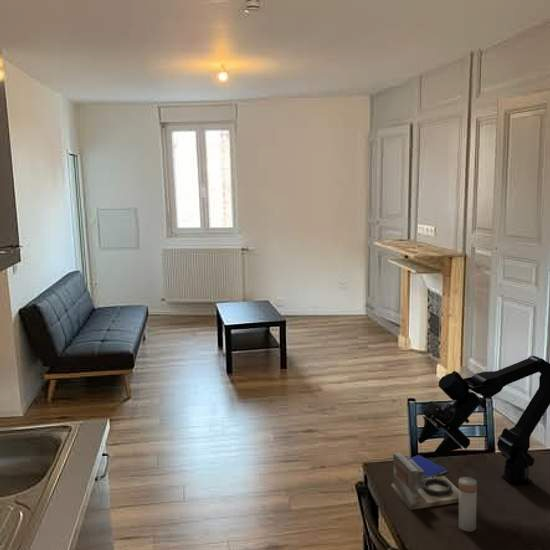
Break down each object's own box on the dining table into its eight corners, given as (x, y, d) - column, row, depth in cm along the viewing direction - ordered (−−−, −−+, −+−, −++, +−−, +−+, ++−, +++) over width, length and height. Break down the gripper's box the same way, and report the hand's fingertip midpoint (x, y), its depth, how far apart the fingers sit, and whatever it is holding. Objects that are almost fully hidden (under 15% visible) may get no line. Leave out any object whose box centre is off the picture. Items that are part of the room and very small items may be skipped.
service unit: (443, 479, 176) (444, 445, 175) (466, 500, 164) (467, 464, 162) (391, 487, 172) (391, 452, 171) (410, 509, 160) (410, 472, 158)
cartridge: (468, 520, 154) (469, 475, 152) (480, 529, 150) (480, 483, 148) (454, 524, 152) (454, 478, 151) (465, 533, 148) (466, 486, 146)
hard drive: (401, 460, 187) (428, 475, 177) (419, 454, 191) (447, 468, 181) (401, 465, 188) (428, 480, 177) (419, 458, 192) (447, 473, 181)
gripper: (429, 382, 174) (395, 420, 173) (461, 403, 156) (424, 445, 155) (451, 405, 177) (418, 442, 176) (486, 428, 159) (449, 469, 158)
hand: (426, 449), depth 166 cm, fingers open, 9 cm apart
